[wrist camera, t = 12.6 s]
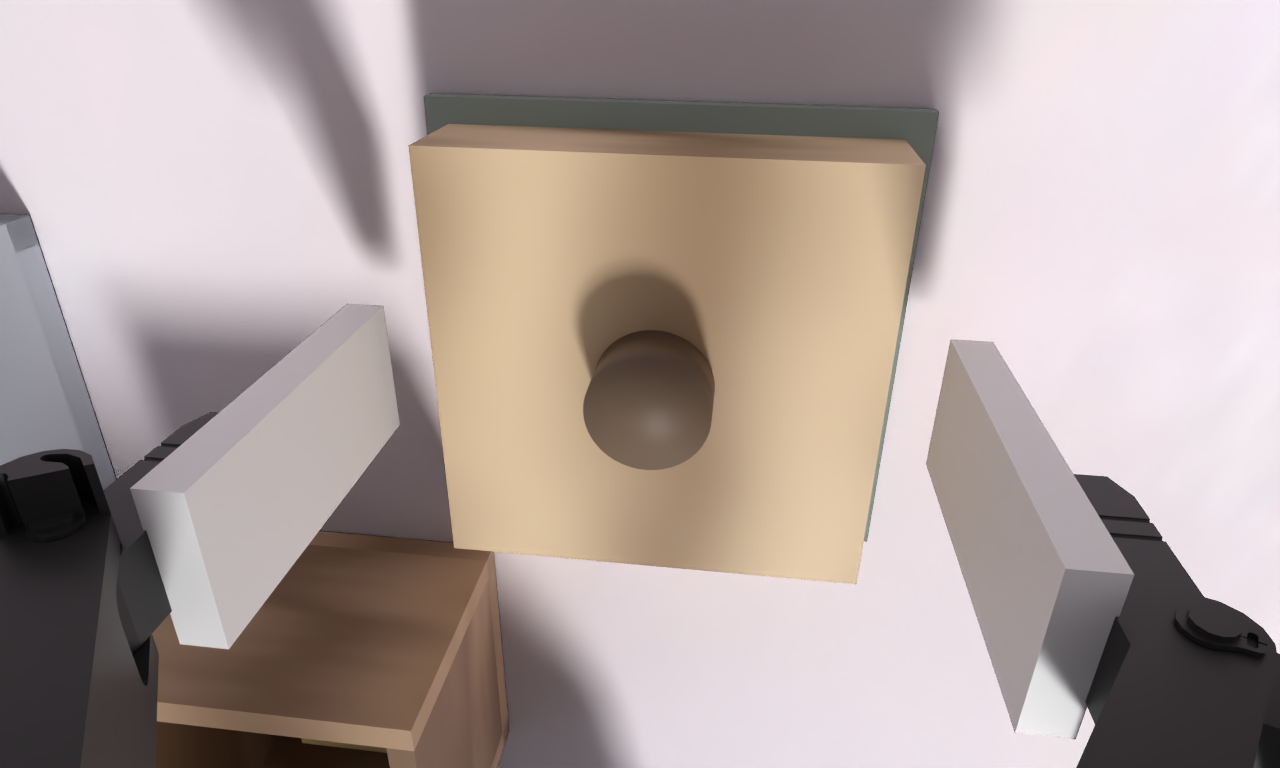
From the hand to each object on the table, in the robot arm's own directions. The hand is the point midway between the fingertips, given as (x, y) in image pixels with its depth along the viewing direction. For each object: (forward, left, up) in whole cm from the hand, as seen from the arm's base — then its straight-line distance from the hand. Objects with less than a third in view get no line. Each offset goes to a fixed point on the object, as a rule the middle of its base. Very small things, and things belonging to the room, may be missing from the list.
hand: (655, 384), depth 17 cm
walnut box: (-8, -10, -3) cm, 13 cm away
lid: (0, 0, -2) cm, 2 cm away
